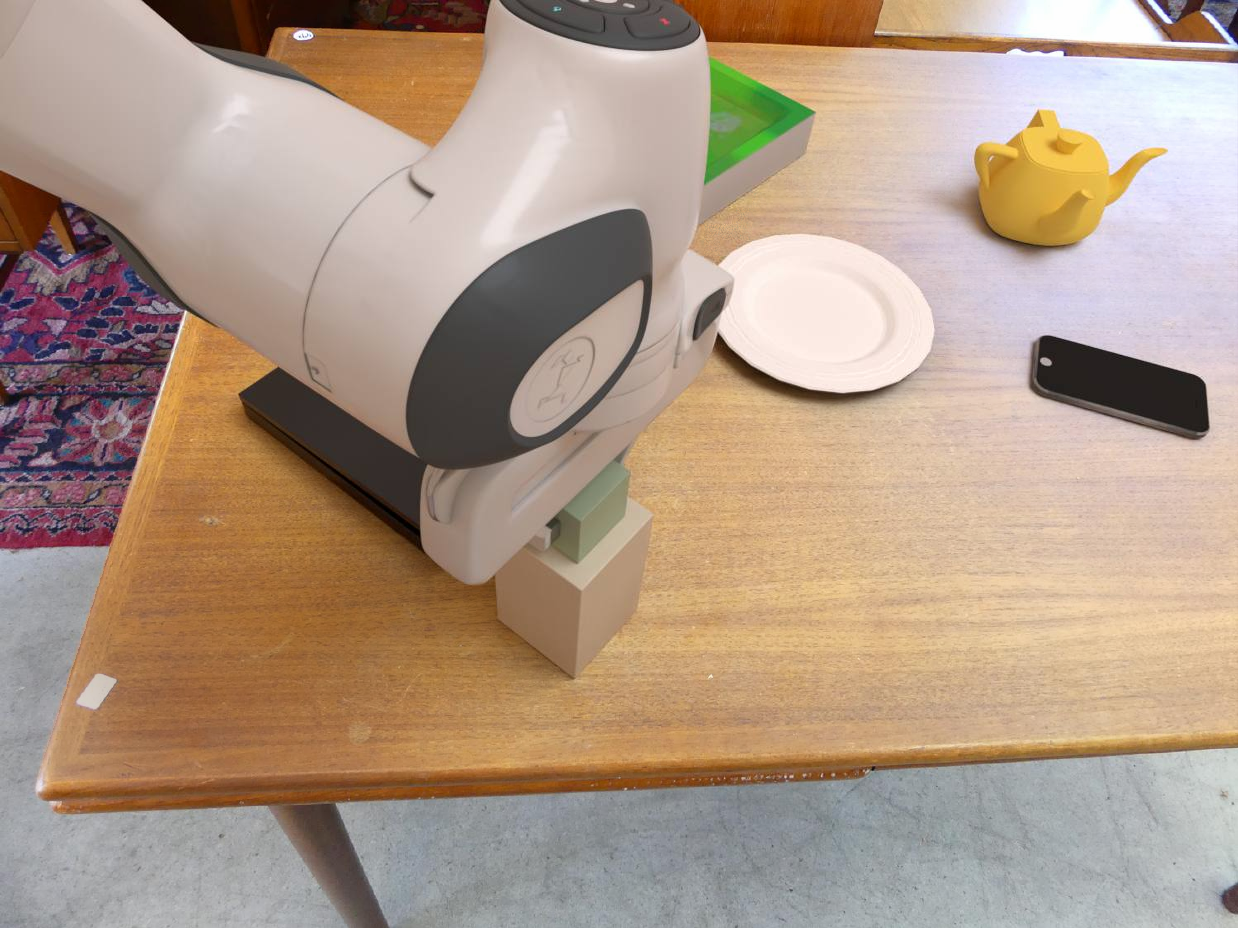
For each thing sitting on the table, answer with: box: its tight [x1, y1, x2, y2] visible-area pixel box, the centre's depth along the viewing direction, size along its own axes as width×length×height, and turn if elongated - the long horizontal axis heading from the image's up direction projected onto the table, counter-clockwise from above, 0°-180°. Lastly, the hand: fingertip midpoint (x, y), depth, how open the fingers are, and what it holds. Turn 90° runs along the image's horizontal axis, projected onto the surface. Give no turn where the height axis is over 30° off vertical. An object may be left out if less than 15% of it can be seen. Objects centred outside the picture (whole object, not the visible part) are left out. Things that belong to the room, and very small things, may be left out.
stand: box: [494, 495, 655, 679], centre depth 60 cm, size 7×7×12 cm
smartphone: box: [1031, 334, 1210, 439], centre depth 82 cm, size 8×1×15 cm
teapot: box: [973, 109, 1169, 247], centre depth 93 cm, size 14×13×10 cm
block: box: [552, 460, 631, 564], centre depth 53 cm, size 4×4×4 cm
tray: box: [697, 56, 817, 227], centre depth 98 cm, size 25×25×5 cm
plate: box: [716, 233, 936, 395], centre depth 84 cm, size 21×21×2 cm
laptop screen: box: [237, 366, 428, 531], centre depth 75 cm, size 22×30×1 cm
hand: (574, 505), depth 54 cm, fingers closed on block, 4 cm apart
